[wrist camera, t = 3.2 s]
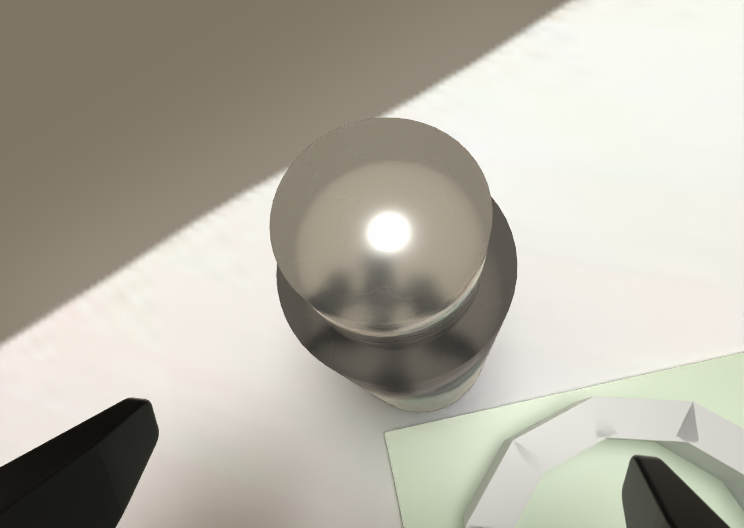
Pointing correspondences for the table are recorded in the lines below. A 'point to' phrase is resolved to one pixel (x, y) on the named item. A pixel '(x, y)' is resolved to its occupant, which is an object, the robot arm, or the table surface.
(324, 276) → the metal bottle
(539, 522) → the ring plate
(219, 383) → the table surface
